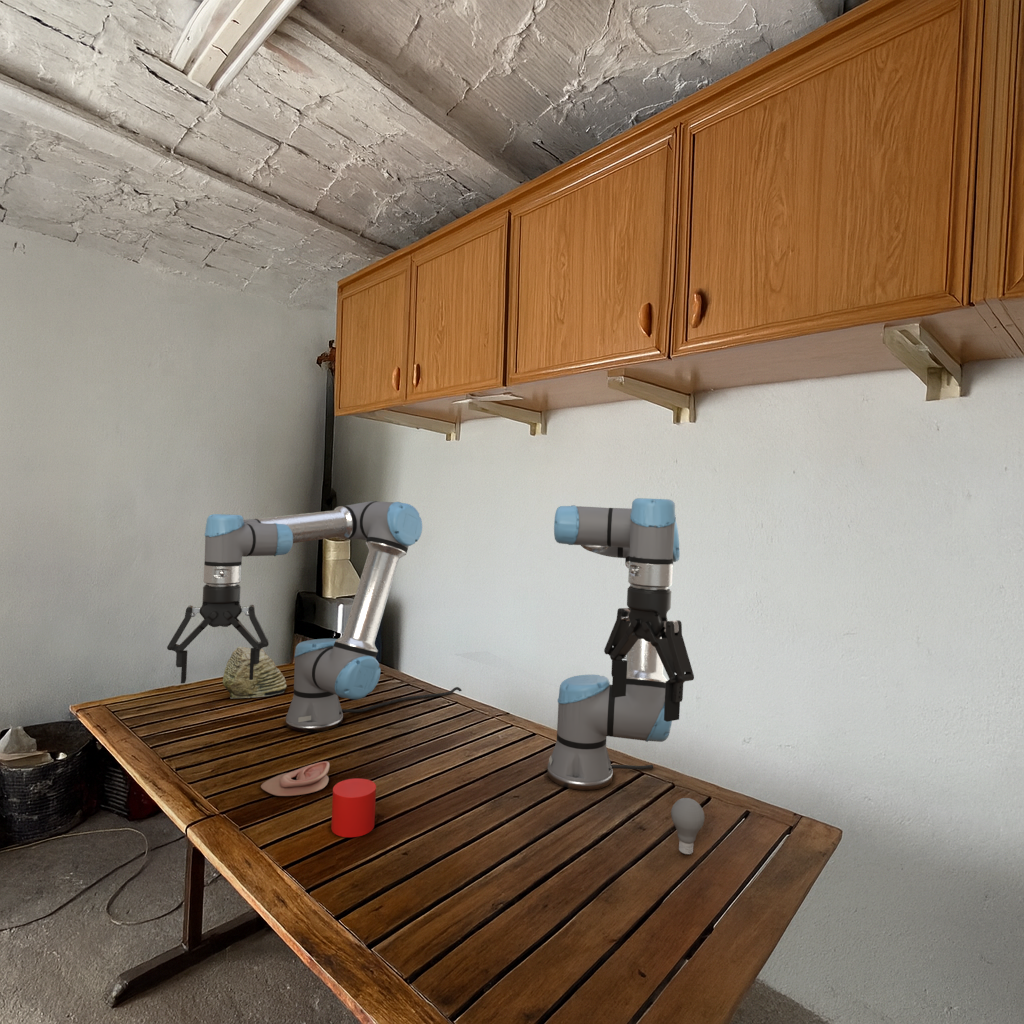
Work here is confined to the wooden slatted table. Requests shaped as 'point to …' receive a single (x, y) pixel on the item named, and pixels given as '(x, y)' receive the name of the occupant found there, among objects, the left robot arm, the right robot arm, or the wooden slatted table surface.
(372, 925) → the wooden slatted table surface
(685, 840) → the light bulb
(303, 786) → the anatomical model
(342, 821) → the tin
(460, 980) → the wooden slatted table surface
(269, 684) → the fossil
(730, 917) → the wooden slatted table surface
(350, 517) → the left robot arm
